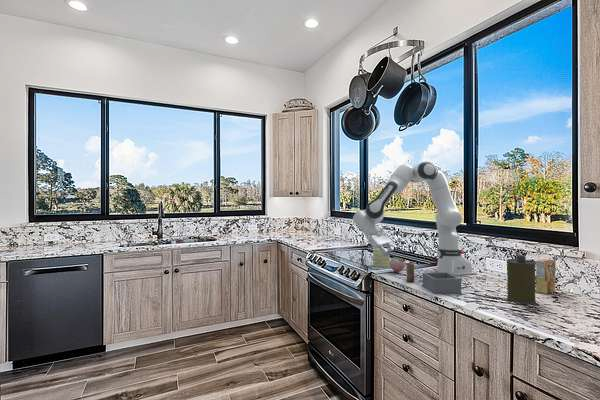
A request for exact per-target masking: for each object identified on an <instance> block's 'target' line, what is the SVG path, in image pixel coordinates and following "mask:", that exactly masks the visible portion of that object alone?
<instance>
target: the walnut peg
mask: <svg viewBox="0 0 600 400" xmlns="http://www.w3.org/2000/svg"><path fill="white" fill-rule="evenodd" d="M414 264H415V263H414V262H410V263H406V282H407V283H410V284H411V283H415V265H414Z"/></svg>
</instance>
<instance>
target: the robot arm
mask: <svg viewBox="0 0 600 400" xmlns="http://www.w3.org/2000/svg"><path fill="white" fill-rule="evenodd" d="M410 182H412V183H420V182H426V185H428V190H429V193H430V195H431V196H430V197H431V200H432V202H433V204H434V206H435V208H436V210H437V211H436V213H435V217H434V218H435V222H436V230H437V237H438V241H437V242H438V244H437V245H438V248H437V264H436V265H437V266H436V269H435V272H436V273H437V272H448V273H450V274H452V275H454V276H466V275H476V274H478V273H477V271H476V270H475V269H473V265H472V263H471V262H470V260H468V259H466V258H465V257H464V256H462V255H464V254H465V252H466V251H465V250H462V249H461V250H460V249H459V236H458V233H457V228H456V227H458V226H460V225H461V223H462V222H463V216H462V214H461V213H460V211H459V209H458V207H457V205H456V202H455V201H454V199H453V196H452V194H451V190H450V187H449V184H448V181H447V179H446V176H445V174H444V173H443V171H441V170H439V169H437V167H436V166H435V164H434V163H433V162H431V161H423V162H420V163H419V162H418V163H417V164H415V165H413V166H411V164H407V163H403V164H400V165H399V166H398V167H397V168H396V169H395V170H394V172H393V173H392V174H391V176H390V177H389V179H388V180H387V182H386V184H385V186H384V187H383V188H382V190H381V191H380V192H379V193H378V195H377V196H376V197H375V198H374V199H372V200H371V201H369V202H368V203H367V204H366V206H365V209H359V210H357V211H355V213H354V215H353V216H352V220H353V222H354V224H355V225H356V227H357V228H358V229H359V230H360V231H362V233H363V234H364V235H363V236H365V237H366V238H367V241H368V243H369V244H370V246H371V247H372V249H373V248H375V249H377V248H379V249H380V250H381V251H383V252H384V253H387V250H386V249H384V248H385V247H387V248H388V249H389V250H390V252H393V250H394V247H393V246H392V244H391V243H392V240H391V237H390V236H388V234H387V233H386V232H385V230H384V229H383V228H381V227H379V226H377V224H379V223H381V222H382V221H383V220H384V217H385V214H384V213H385V211H384V209H385V206H386V204H387V203H388V201H389V200H390V198H391V197H392V196H393V195H394V194H396V195H398V194H401V193H402V192H403V191H404V190H405V189H406V188H407V186H408V185H409V183H410Z"/></svg>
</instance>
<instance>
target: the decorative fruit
mask: <svg viewBox="0 0 600 400" xmlns="http://www.w3.org/2000/svg"><path fill="white" fill-rule="evenodd" d="M405 266H406V262H405V260H404V259H402V258H401V257H397V256H394V257H391V259H390V267H389V268H390V269H391V270H393V272H396V273H399V272H401V271H403V270H404V269H405V268H406V267H405Z"/></svg>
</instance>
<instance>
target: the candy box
mask: <svg viewBox="0 0 600 400" xmlns="http://www.w3.org/2000/svg"><path fill="white" fill-rule="evenodd" d="M535 263H536V264H535V293H540V294H545V295H546V294H550V293H554V292H556V260H555V259H550V258H544V259H536V261H535Z"/></svg>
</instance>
